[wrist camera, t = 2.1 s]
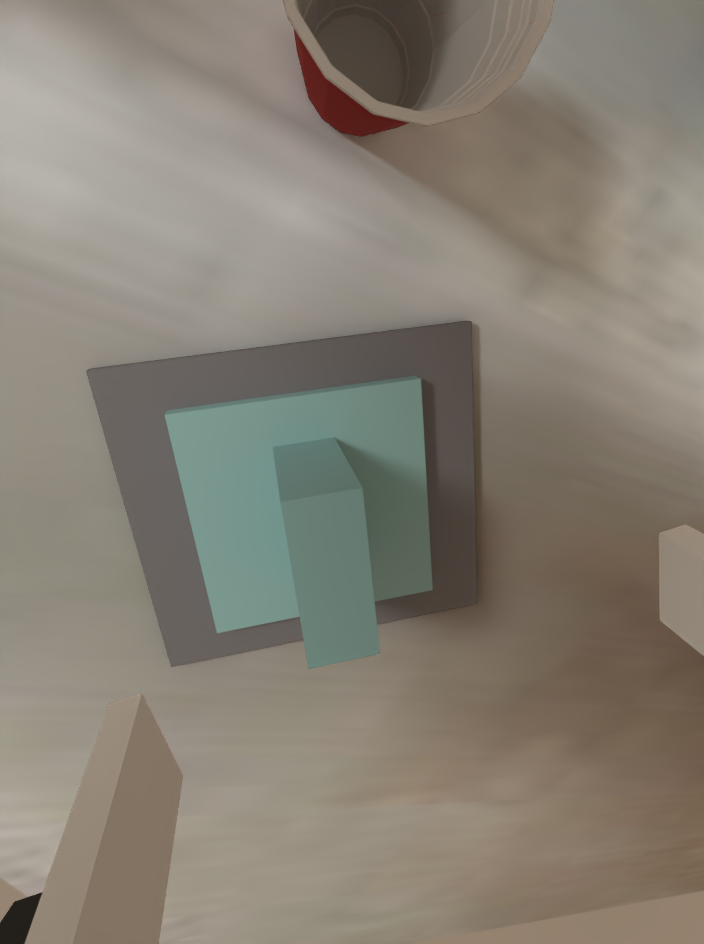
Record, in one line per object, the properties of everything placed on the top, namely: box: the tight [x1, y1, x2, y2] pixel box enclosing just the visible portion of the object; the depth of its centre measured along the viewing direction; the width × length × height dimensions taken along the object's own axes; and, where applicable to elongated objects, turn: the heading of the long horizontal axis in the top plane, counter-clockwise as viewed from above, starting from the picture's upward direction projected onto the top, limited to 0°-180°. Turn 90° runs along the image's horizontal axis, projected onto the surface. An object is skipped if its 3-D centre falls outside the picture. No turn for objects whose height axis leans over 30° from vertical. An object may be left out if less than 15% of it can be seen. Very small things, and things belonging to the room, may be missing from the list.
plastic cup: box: [283, 0, 554, 137], centre depth 23 cm, size 11×11×12 cm
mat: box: [86, 321, 477, 667], centre depth 36 cm, size 24×22×1 cm
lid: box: [165, 376, 433, 669], centre depth 31 cm, size 16×16×10 cm
